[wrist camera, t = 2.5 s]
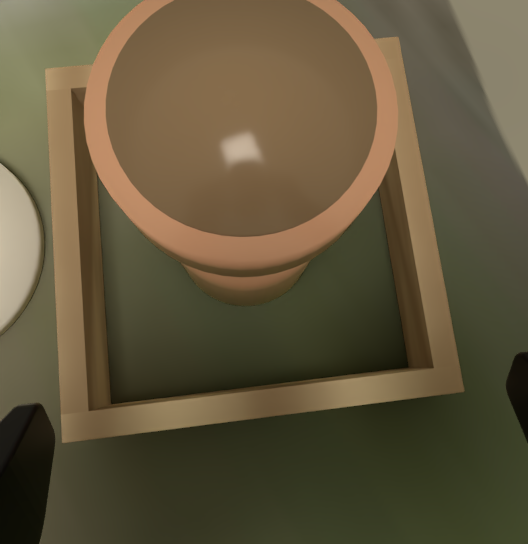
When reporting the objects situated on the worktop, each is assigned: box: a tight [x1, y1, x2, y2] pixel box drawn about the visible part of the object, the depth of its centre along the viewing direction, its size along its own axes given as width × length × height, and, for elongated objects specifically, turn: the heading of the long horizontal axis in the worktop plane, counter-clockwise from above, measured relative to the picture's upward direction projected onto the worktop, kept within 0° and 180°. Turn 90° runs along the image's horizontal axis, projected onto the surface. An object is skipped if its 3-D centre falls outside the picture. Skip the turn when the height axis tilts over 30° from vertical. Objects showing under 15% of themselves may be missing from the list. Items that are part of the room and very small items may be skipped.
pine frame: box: [45, 37, 465, 443], centre depth 21 cm, size 15×15×3 cm
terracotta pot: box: [84, 0, 398, 306], centre depth 16 cm, size 7×7×12 cm
